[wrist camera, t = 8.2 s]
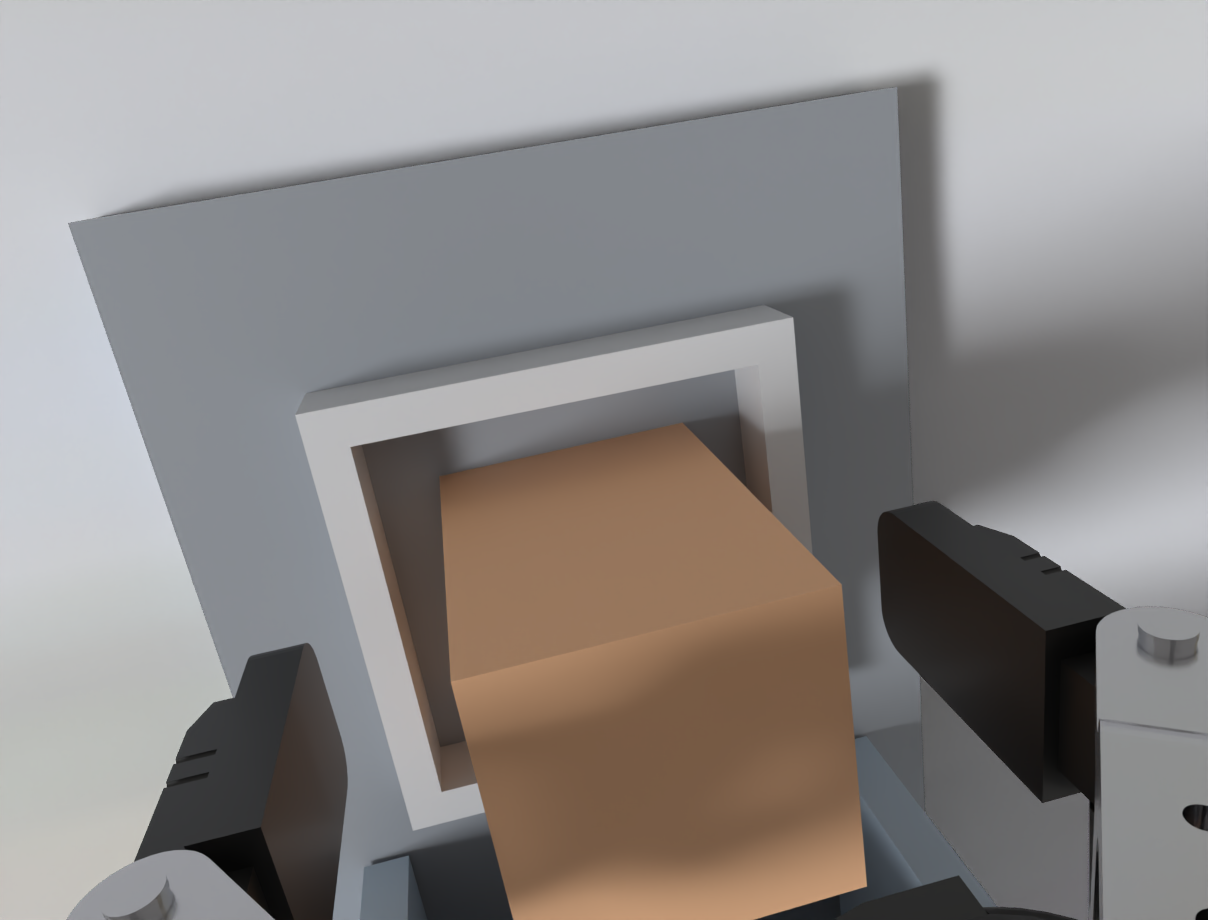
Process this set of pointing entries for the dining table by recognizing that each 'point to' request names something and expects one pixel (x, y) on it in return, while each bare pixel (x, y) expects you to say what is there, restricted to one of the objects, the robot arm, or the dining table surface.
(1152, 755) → the robot arm
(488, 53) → the dining table surface
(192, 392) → the housing base
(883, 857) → the cover
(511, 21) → the dining table surface
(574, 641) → the tan rectangular block
